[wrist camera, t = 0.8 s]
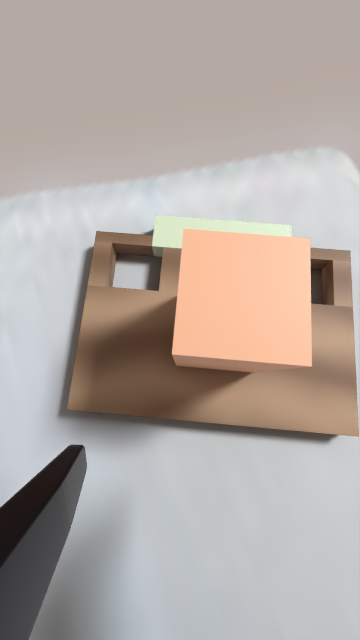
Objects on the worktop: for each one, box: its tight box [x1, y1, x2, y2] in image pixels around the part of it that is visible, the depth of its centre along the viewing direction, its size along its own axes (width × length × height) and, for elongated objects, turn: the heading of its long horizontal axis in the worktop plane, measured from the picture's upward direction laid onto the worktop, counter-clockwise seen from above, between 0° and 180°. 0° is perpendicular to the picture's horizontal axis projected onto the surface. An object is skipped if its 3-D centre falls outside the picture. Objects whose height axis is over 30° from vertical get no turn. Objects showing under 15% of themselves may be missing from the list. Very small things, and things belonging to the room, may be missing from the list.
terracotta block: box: [172, 229, 312, 373], centre depth 17 cm, size 6×6×10 cm
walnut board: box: [67, 231, 359, 437], centre depth 23 cm, size 15×22×2 cm
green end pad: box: [152, 215, 292, 257], centre depth 25 cm, size 3×12×2 cm, turn 85°
